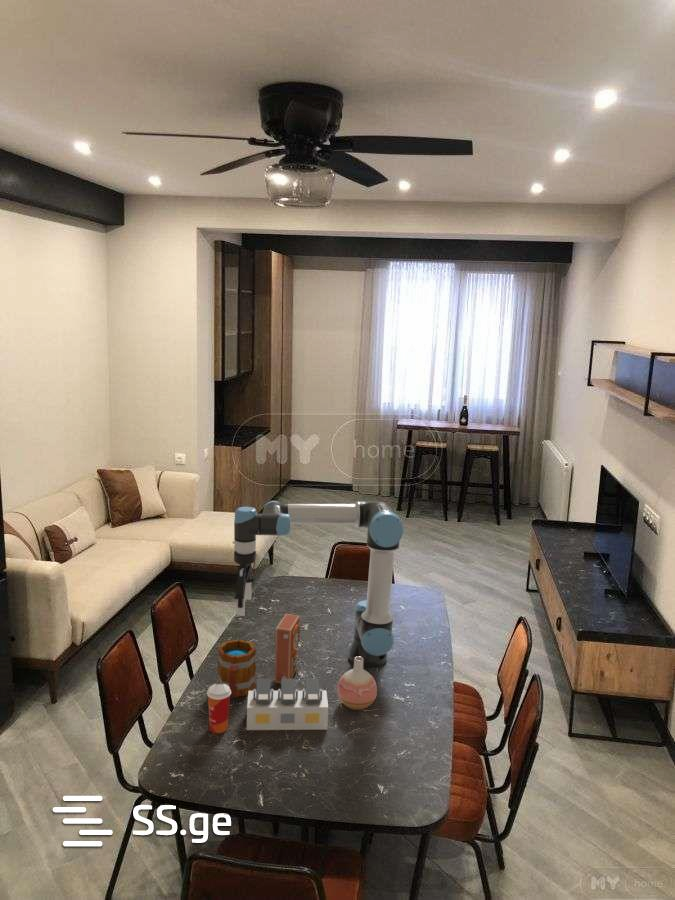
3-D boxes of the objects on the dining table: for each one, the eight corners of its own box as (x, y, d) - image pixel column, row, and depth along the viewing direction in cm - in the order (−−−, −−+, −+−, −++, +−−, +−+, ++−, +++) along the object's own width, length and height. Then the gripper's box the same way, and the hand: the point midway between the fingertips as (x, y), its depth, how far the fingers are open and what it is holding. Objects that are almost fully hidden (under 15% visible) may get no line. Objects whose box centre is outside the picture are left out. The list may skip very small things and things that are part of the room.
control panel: (300, 666, 267) (289, 687, 253) (282, 664, 269) (271, 684, 254) (302, 614, 263) (291, 631, 248) (284, 611, 264) (272, 629, 250)
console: (325, 711, 238) (326, 681, 236) (327, 730, 228) (328, 698, 226) (248, 712, 236) (248, 681, 234) (246, 730, 226) (247, 699, 224)
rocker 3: (319, 681, 235) (319, 677, 234) (320, 703, 228) (320, 699, 227) (304, 681, 235) (304, 677, 234) (305, 703, 227) (305, 699, 226)
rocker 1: (271, 682, 234) (271, 678, 233) (270, 704, 226) (270, 699, 225) (256, 682, 234) (256, 678, 233) (255, 704, 226) (255, 699, 225)
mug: (220, 676, 258) (220, 638, 255) (257, 677, 258) (257, 639, 255) (211, 706, 239) (212, 666, 236) (251, 707, 239) (252, 667, 236)
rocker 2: (295, 681, 235) (295, 677, 234) (295, 703, 227) (295, 699, 226) (280, 682, 234) (280, 678, 233) (280, 703, 227) (280, 699, 226)
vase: (348, 720, 234) (350, 671, 231) (329, 699, 246) (331, 653, 242) (383, 711, 241) (386, 663, 237) (363, 691, 252) (366, 645, 249)
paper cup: (207, 721, 230) (208, 682, 227) (231, 721, 231) (232, 682, 228) (205, 735, 222) (205, 695, 220) (229, 735, 223) (230, 695, 220)
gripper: (240, 538, 260) (240, 592, 264) (227, 562, 235) (226, 621, 240) (260, 539, 260) (259, 593, 264) (249, 564, 235) (248, 623, 240)
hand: (244, 607), depth 252 cm, fingers open, 13 cm apart
